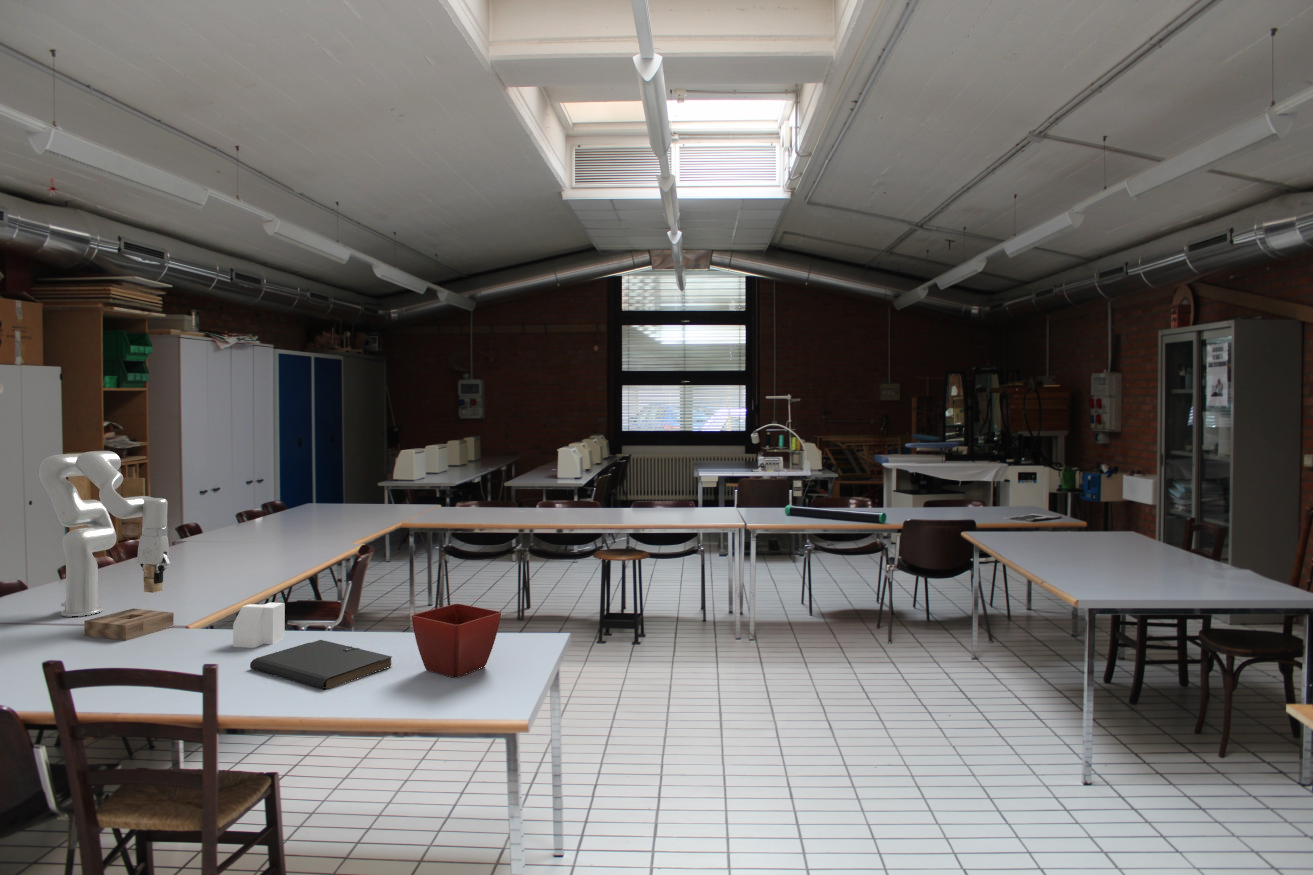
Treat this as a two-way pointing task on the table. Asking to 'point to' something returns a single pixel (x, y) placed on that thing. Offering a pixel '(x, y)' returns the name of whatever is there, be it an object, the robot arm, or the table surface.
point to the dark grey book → (321, 663)
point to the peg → (150, 579)
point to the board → (128, 624)
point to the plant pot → (455, 638)
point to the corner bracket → (259, 625)
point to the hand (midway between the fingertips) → (153, 581)
